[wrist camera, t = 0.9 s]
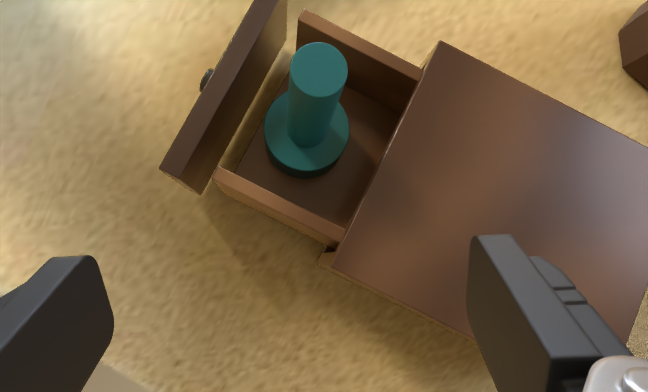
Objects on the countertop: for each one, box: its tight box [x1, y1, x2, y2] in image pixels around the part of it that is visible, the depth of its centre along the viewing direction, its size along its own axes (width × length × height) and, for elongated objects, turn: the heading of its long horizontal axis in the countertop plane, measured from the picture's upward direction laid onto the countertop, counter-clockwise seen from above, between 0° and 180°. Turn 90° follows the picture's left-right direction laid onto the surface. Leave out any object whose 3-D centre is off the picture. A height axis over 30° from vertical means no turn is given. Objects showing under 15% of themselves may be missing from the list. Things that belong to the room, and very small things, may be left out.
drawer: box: [159, 0, 423, 250], centre depth 29 cm, size 16×13×7 cm
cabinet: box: [317, 40, 648, 346], centre depth 29 cm, size 16×14×9 cm
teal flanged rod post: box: [264, 42, 349, 179], centre depth 25 cm, size 5×5×12 cm
